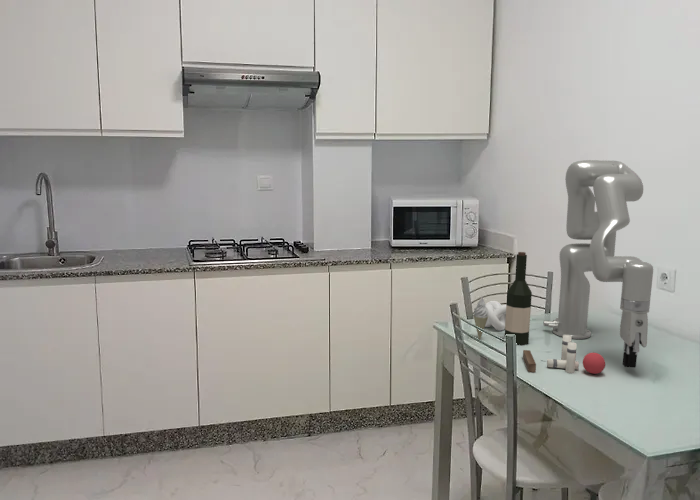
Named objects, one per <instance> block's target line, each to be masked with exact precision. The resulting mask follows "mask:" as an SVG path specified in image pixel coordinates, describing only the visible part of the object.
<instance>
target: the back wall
mask: <svg viewBox="0 0 700 500" xmlns="http://www.w3.org/2000/svg"><path fill="white" fill-rule="evenodd" d="M522 352H523V353H522V359H523V362H524V364H525V367H526V370H527V372H528V373H536V370H537V369H536V368H537V363H536V361H535V359H534V357H533V354H532V352H531V350H527V349H523V350H522Z"/></svg>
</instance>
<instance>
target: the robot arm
mask: <svg viewBox="0 0 700 500" xmlns="http://www.w3.org/2000/svg"><path fill="white" fill-rule="evenodd" d="M565 187H566V191H567V192H566V193H567V212H566V229H565V230H566V231H565V232H566V235H567V237H569V238H570V239H572V240H579V241H581V240H584V241H585V240H586V241H588V240H590V243H585V242H584V243H569V244H566V245H565V246H563V247H562V248H561V249H560V252H559V265H560V284H559V285H560V288H559V303H558V314H557V317H555V320H554V319H553V320H543V326H544V327H548V328H552V333H553V334H554V335H557V336H559V337H562V338H563V335H570V336H572V337H571V340H572V339H573V340H581V339H582V340H583V339H588V338H590V337H591V336H592V331H591V330H589V329H588V320H589V319H588V317H589V305H590V296H591V295H590V293H591V292H590V291H591V284H590V280H588V278H587V276H586V275H585V273H588V272H592V274H593V276H594V278H595V279H596V280H598V281H599V282H602V283H622V284H621V295H620V296H621V297H620V307H619V309H620V310H622V311H621V317H620V318H621V319H620V324H619V337H620V338H621V340H622V341H623V355H622V365H623V366H624V368H631V369H632V368H634V369H635V368H636V367H637V360H638V359H637V358H638V357H637V356H638V353H640V346H642V347H643V348H646V347H647V345H648V331H649V329H648V328H649V327H648V326H649V323H648V322H649V319H648V318H649V317H648V316H649V315H648V313H649V312H650V308H651V307H650V306H651V297H652V286H653V276H654V266H653V264H651V263H649V262H648V261H647V262H646V261H643V260H641V259H640V258H638V257H636V256H627V255H625V256H615V252H616V251H615V249H616V242H617V239H616V238H617V231H620V230H622V229H624V228H626V227H627V226H628V225H629V224H630V222H631V219H630V215H629V209H628V204H627V202H637V201H639V200H640V199H642V196H643V194H644V185H643V181H642V179H641V177H640V176H639V175H638V174H637V173H636V172H635V171H634V170H633V169H631V168H630V167H629V166H628V165H626V164H625V163H624V162H622V161H618V160H596V159H595V160H591V159H589V160H588V159H587V160H578V161H575V162H573V163H571V164H570V165H569V166H568V167H567V169H566V172H565ZM591 187H592V188H593V189H592V190H593V191H592V190H591ZM595 207H596V211H595Z"/></svg>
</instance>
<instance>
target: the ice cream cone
mask: <svg viewBox="0 0 700 500" xmlns="http://www.w3.org/2000/svg"><path fill="white" fill-rule="evenodd" d="M476 305H477V306H476V307H475V308H474V311H473V321H474V323H475V327H476V326H478V327H480V328H482V329H484V330H485V328H486V327H485V325H486V322H487V319H488V317H489V316H488V313H489V312H488V309H487V308H486V306H485V305H486V303H485V300H484V298H483V295H481V297H480V299H479V301H478V302H477V304H476ZM476 332H477V333H476V334H477V337H478V339H479V340H481V338H482V336H483V333H484V331H483V332H481V331H479V330H478V329H477V328H476Z"/></svg>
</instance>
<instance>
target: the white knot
mask: <svg viewBox="0 0 700 500" xmlns="http://www.w3.org/2000/svg"><path fill="white" fill-rule="evenodd" d="M485 304H486V305H485V306H486V308H487V309H488V312H489V313H488V316H489V317H488V319H487V322H486V325H485V327H484V328H490V327H493V328H494V329H495V330H496V331H500V332H501V331H503V330H505V320H506V304H501V303H500V302H499V301H497V300H490V301H488V302H486V303H485Z"/></svg>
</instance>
